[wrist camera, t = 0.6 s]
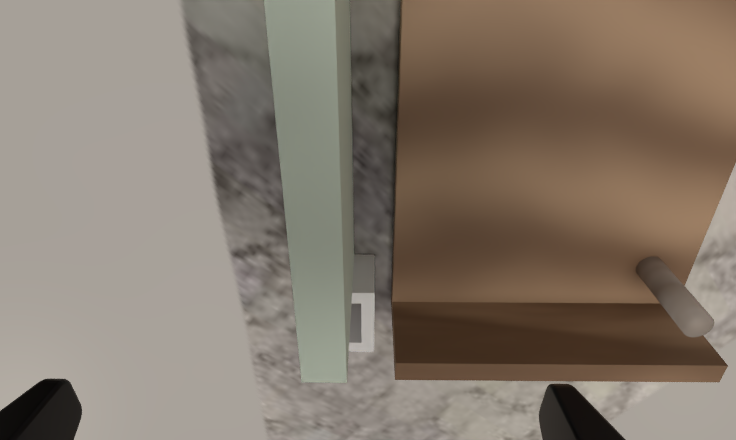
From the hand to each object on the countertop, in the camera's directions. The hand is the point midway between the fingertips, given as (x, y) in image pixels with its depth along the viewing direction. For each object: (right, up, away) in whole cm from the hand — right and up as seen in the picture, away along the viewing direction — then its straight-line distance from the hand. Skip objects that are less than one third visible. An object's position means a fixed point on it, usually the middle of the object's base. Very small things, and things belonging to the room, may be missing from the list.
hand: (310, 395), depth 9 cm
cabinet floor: (+9, +8, +11) cm, 16 cm away
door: (0, +6, +12) cm, 14 cm away
